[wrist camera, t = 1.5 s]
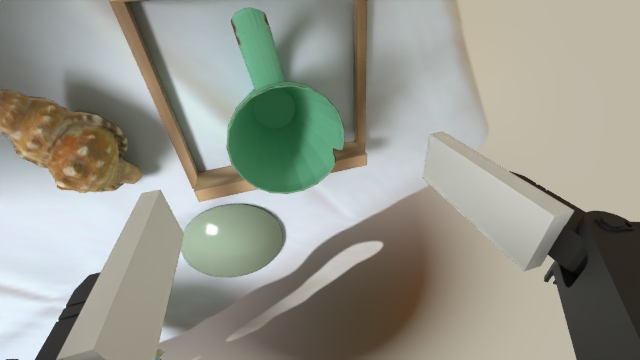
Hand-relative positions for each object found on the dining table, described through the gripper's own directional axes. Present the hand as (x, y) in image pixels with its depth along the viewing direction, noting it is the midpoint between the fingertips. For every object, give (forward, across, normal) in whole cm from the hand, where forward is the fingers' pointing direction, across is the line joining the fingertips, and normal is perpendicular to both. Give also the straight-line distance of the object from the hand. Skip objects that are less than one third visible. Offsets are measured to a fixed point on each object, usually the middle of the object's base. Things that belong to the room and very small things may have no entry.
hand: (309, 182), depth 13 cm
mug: (+19, 0, 0) cm, 19 cm away
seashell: (+20, -18, -4) cm, 28 cm away
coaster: (+19, -9, -21) cm, 30 cm away
